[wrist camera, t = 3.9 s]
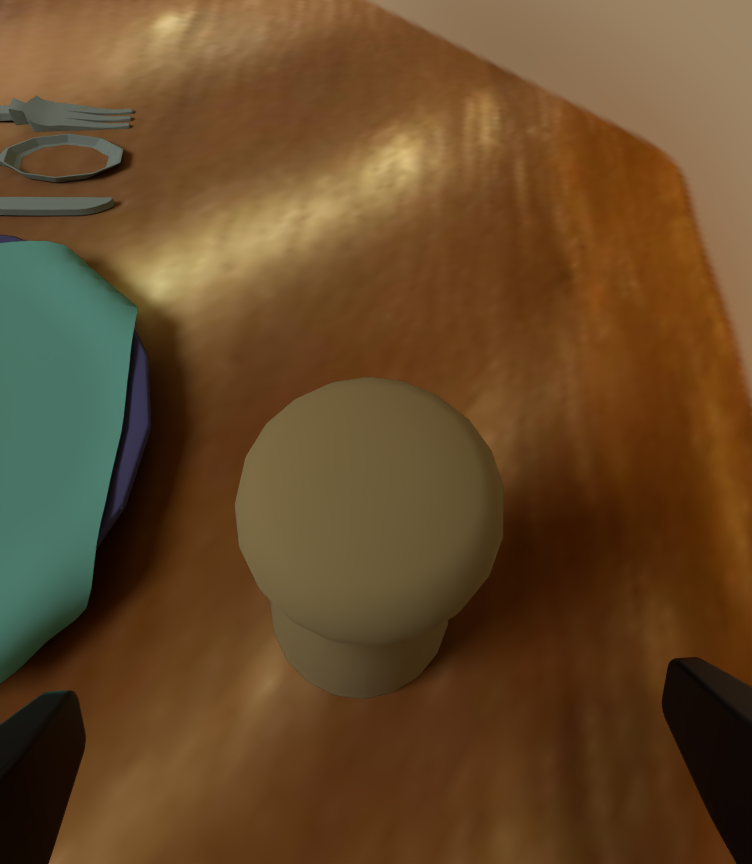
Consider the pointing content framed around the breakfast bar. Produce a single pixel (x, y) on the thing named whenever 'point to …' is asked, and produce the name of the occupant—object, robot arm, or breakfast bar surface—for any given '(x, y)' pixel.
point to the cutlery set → (61, 398)
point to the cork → (368, 529)
